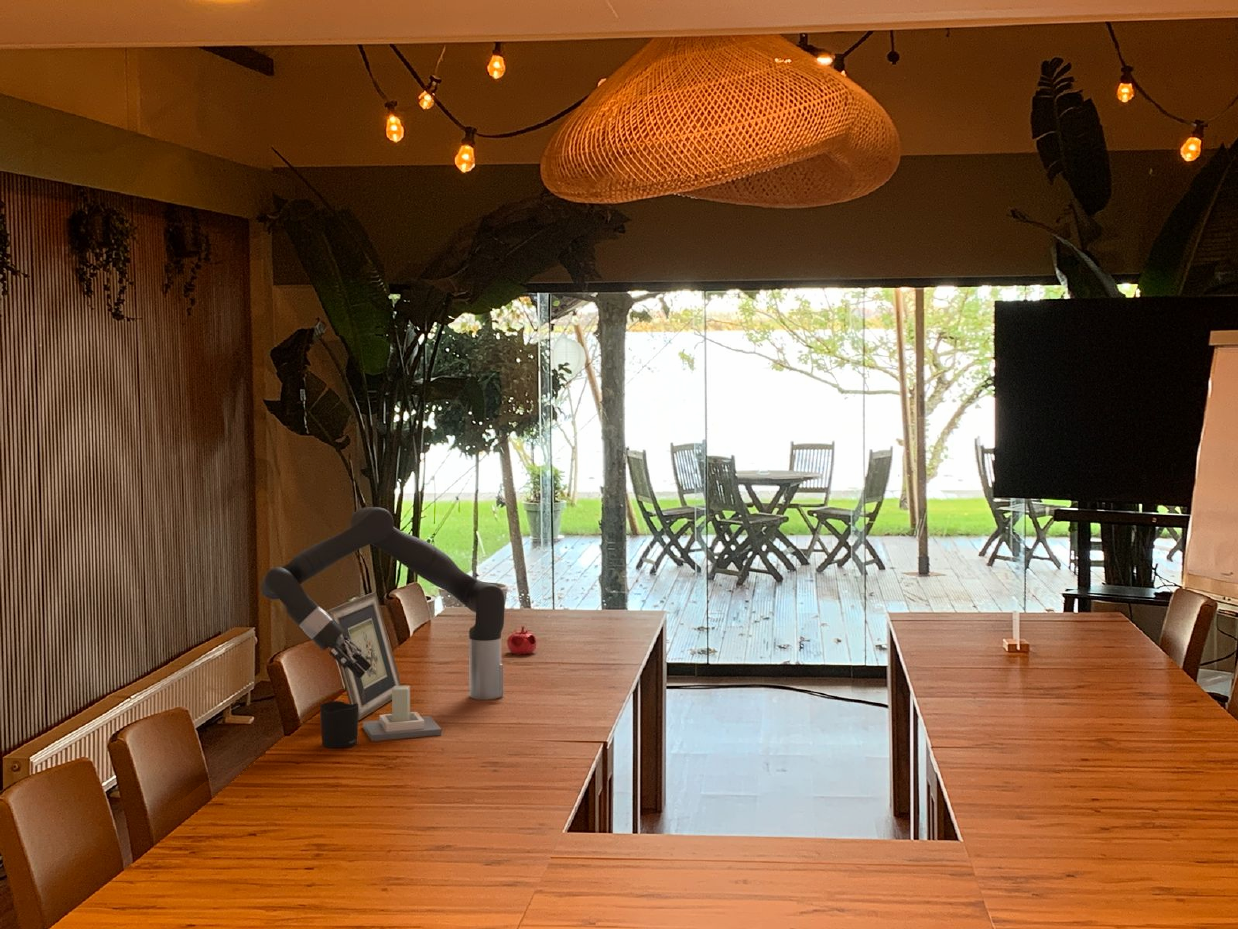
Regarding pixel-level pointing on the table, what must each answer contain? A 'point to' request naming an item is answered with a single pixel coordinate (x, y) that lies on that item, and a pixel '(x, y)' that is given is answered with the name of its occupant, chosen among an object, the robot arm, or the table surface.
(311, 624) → the robot arm
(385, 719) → the grey base with frame
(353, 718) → the pen holder
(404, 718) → the sage block
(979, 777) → the table surface
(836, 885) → the table surface
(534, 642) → the pomegranate
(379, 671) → the picture frame
